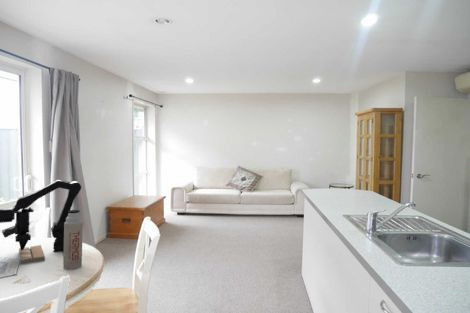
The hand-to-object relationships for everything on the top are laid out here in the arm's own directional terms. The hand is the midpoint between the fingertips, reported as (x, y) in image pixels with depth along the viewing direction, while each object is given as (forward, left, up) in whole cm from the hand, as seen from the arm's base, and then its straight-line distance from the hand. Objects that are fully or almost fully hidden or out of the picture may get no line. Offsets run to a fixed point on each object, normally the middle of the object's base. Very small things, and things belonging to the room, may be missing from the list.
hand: (22, 249), depth 155 cm
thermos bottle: (-29, +20, -3) cm, 36 cm away
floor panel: (-5, +2, -3) cm, 6 cm away
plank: (-3, +3, -2) cm, 4 cm away
